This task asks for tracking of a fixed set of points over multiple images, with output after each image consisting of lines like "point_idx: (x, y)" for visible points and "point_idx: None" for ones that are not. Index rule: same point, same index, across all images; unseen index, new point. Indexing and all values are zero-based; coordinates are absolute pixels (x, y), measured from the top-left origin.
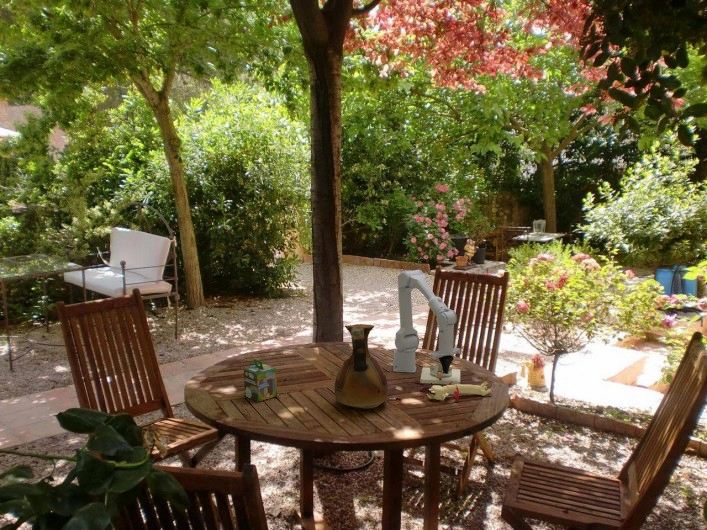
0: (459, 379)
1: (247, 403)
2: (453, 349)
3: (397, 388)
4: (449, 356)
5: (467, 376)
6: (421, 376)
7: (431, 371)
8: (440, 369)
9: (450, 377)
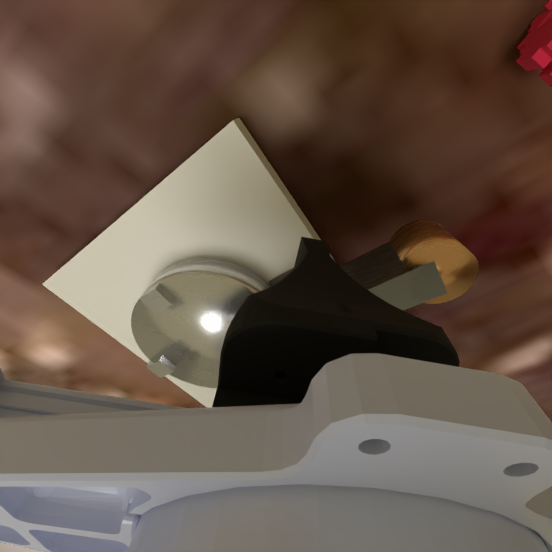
0: (194, 163)
1: None
2: (38, 527)
3: (536, 357)
4: (283, 390)
5: (50, 201)
6: None
7: None
8: None
9: (215, 242)
